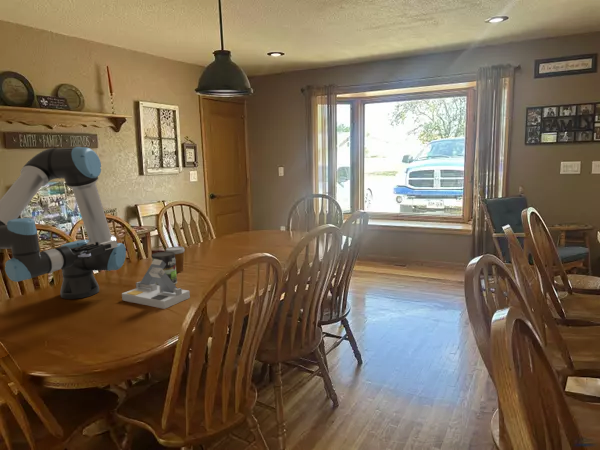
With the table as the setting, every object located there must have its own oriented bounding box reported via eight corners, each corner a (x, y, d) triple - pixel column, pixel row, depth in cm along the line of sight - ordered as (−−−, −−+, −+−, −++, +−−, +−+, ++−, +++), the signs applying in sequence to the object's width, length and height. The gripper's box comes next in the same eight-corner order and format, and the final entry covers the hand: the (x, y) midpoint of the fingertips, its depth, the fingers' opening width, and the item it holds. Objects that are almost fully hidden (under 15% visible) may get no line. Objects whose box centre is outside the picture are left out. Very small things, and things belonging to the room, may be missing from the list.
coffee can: (181, 280, 205) (179, 251, 202) (170, 287, 195) (168, 256, 192) (161, 279, 207) (158, 251, 204) (149, 286, 197) (147, 256, 195)
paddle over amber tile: (137, 284, 183) (152, 259, 190) (141, 288, 186) (156, 262, 192) (148, 286, 180) (164, 260, 187) (153, 290, 182) (167, 264, 189)
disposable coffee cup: (163, 273, 219) (161, 249, 217) (175, 268, 227) (173, 245, 225) (178, 274, 215) (176, 250, 213) (190, 269, 224) (188, 246, 222)
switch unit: (122, 300, 179) (121, 287, 178) (148, 290, 191) (147, 278, 190) (164, 308, 168) (163, 295, 167) (190, 297, 180) (189, 285, 179)
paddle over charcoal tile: (163, 292, 178) (146, 272, 170) (167, 287, 180) (151, 266, 172) (175, 294, 175) (159, 274, 166) (179, 289, 176) (163, 268, 168)
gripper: (47, 267, 152) (105, 251, 173) (70, 271, 146) (128, 254, 166) (44, 246, 151) (103, 232, 171) (67, 250, 145) (126, 235, 165)
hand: (115, 243), depth 169 cm, fingers closed
